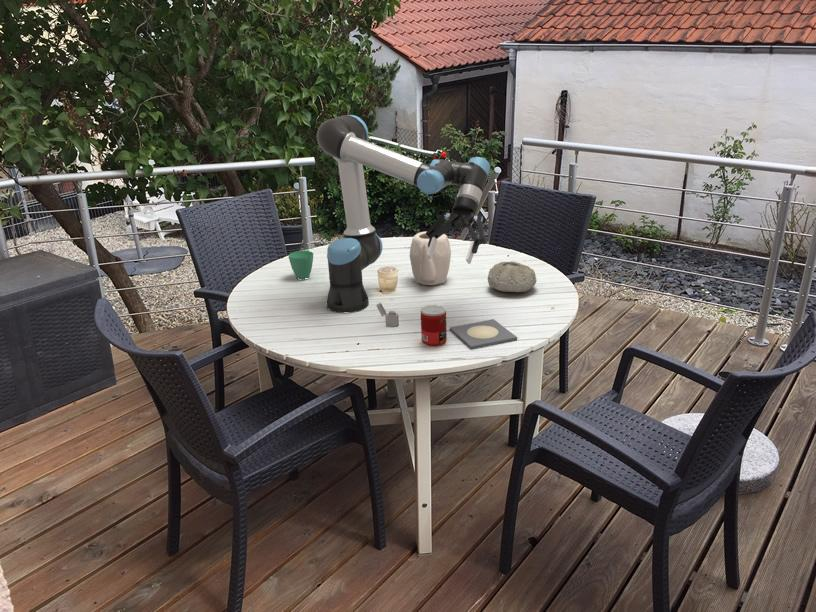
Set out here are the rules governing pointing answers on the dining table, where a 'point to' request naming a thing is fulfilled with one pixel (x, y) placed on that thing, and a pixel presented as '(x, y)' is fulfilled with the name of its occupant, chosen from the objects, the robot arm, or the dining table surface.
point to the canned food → (433, 325)
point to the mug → (301, 263)
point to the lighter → (389, 316)
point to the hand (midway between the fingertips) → (448, 259)
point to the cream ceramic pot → (428, 268)
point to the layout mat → (482, 334)
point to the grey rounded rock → (511, 277)
